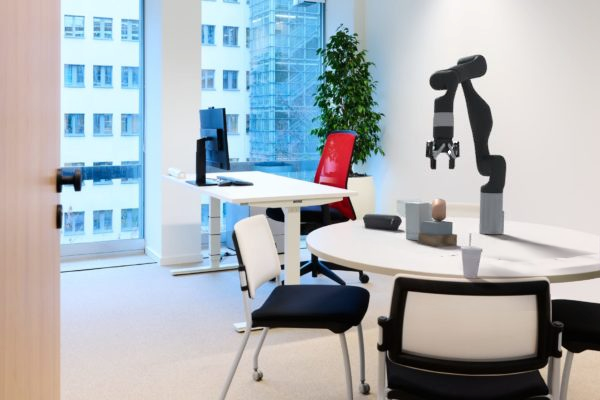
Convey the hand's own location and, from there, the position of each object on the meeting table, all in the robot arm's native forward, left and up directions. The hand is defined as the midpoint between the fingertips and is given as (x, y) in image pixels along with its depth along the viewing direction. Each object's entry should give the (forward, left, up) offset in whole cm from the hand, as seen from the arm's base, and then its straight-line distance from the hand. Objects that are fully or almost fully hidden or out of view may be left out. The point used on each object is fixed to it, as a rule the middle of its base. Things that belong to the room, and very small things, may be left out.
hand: (442, 169), depth 238 cm
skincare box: (-1, -15, -28) cm, 32 cm away
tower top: (+1, -1, -24) cm, 24 cm away
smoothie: (+24, +41, -32) cm, 57 cm away
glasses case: (-3, -43, -28) cm, 51 cm away
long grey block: (-39, -66, -29) cm, 82 cm away
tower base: (+1, -1, -29) cm, 29 cm away
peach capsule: (0, -1, -18) cm, 18 cm away
